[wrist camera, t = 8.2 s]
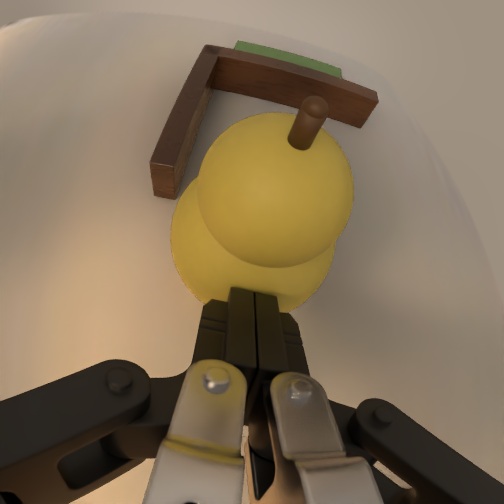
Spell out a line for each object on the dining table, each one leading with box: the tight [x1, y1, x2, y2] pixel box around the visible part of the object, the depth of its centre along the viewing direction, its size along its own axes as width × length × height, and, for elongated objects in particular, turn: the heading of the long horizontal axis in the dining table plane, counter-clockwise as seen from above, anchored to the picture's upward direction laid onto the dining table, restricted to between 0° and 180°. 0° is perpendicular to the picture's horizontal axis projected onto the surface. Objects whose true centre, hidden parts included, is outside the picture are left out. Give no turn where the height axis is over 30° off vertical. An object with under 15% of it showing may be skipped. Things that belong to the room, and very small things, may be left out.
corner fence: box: [149, 45, 379, 200], centre depth 18 cm, size 12×11×3 cm
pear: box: [170, 96, 354, 313], centre depth 11 cm, size 6×6×11 cm
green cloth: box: [234, 41, 342, 79], centre depth 22 cm, size 9×5×1 cm, turn 82°
